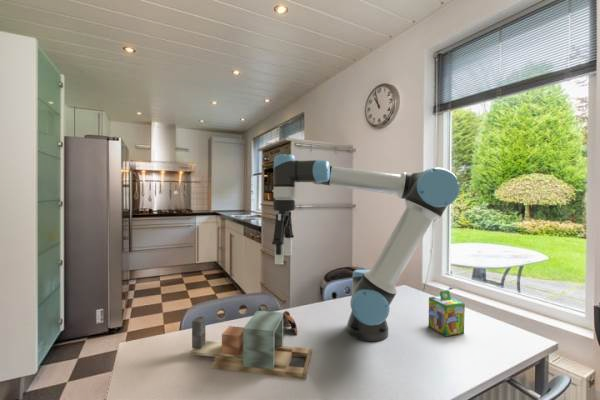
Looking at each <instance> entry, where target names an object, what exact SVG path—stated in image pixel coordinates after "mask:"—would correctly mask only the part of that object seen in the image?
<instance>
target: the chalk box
mask: <svg viewBox="0 0 600 400" xmlns="http://www.w3.org/2000/svg"><path fill="white" fill-rule="evenodd" d="M444 294H446V295H444ZM465 305H466V304H465V303H464V302H462V301H460V300H458V299H456V298H453V297H451V293H450V290H440V291H439V295H438V296H430V297H428V325H427V326H428V327H430V328H431V329H433V330H434V331H437V332H438V333H440V334H442V335H443V336H445V337H449V336H453V335H461V334H465V312H466V311H465Z"/></svg>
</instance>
